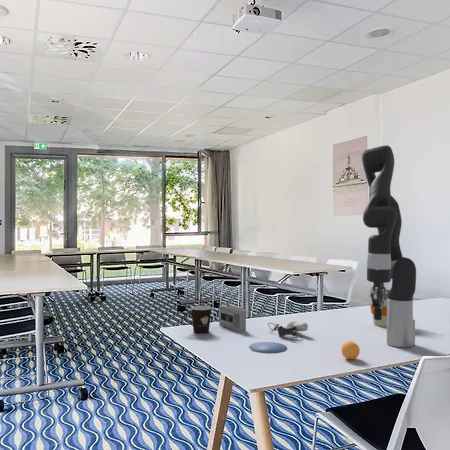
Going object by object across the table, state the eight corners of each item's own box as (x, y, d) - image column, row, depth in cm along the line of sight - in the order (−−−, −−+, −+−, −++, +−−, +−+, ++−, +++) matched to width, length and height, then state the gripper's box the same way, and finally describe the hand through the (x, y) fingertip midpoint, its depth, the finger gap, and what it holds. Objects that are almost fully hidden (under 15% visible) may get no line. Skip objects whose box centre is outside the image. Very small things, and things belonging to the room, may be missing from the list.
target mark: (277, 341, 177) (277, 340, 177) (293, 351, 164) (293, 350, 164) (243, 344, 173) (243, 343, 173) (257, 354, 160) (257, 354, 160)
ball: (352, 355, 158) (353, 338, 158) (363, 360, 153) (363, 343, 153) (337, 357, 157) (337, 339, 157) (347, 362, 151) (347, 344, 151)
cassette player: (219, 325, 204) (219, 302, 204) (224, 324, 206) (224, 302, 206) (240, 332, 192) (240, 308, 191) (245, 331, 193) (245, 307, 193)
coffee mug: (211, 329, 196) (211, 305, 196) (211, 334, 188) (211, 309, 188) (184, 329, 196) (184, 306, 196) (183, 334, 187) (183, 310, 187)
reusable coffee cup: (405, 326, 202) (405, 292, 201) (382, 329, 197) (382, 294, 197) (385, 320, 213) (385, 288, 213) (363, 322, 209) (363, 290, 208)
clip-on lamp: (263, 339, 192) (291, 338, 178) (260, 324, 193) (287, 322, 178) (284, 332, 199) (312, 331, 184) (280, 317, 200) (309, 315, 185)
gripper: (371, 264, 158) (370, 314, 158) (363, 268, 146) (362, 322, 146) (393, 266, 154) (392, 317, 155) (387, 269, 143) (386, 324, 143)
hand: (377, 319), depth 150 cm, fingers closed
